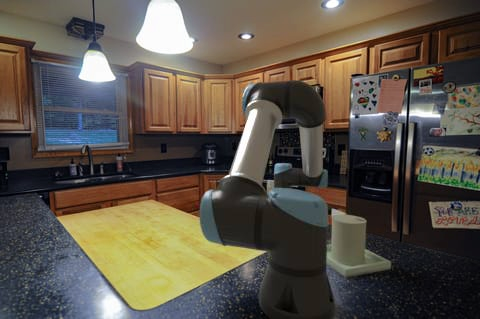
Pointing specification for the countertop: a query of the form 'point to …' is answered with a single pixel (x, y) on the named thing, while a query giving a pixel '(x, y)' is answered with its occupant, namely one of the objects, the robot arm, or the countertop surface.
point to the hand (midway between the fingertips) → (328, 219)
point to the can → (348, 239)
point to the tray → (371, 265)
